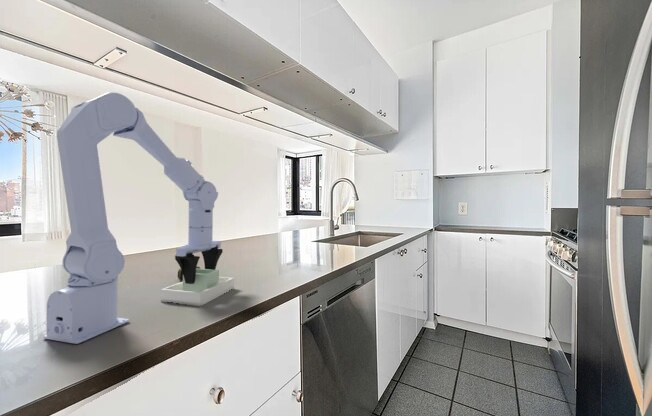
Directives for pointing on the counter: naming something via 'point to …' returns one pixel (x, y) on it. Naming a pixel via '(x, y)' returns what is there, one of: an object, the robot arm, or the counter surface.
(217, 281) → the small crate
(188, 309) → the counter surface
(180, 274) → the tape measure
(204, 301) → the white shallow tray
